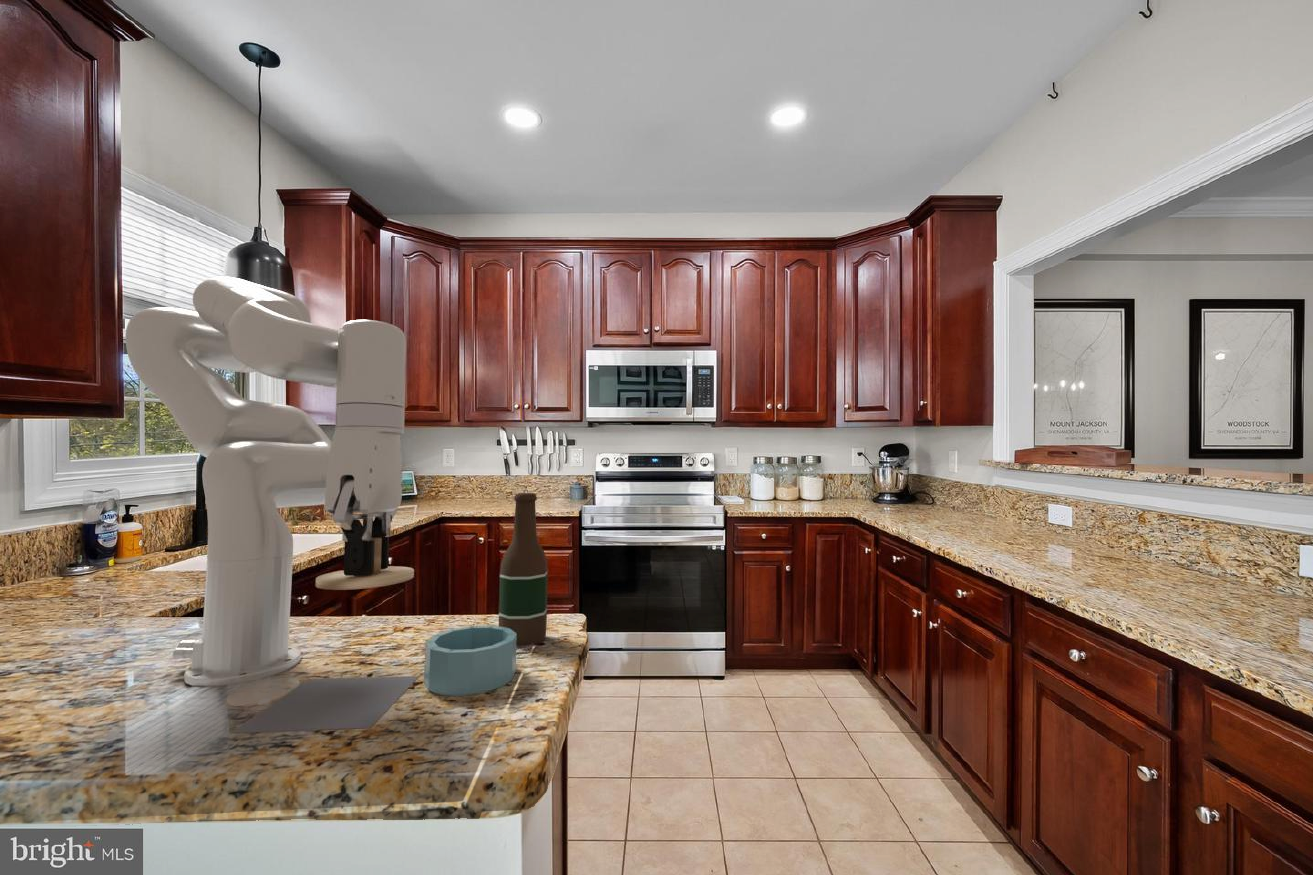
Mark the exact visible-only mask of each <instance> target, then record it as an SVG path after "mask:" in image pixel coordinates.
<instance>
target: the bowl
mask: <svg viewBox="0 0 1313 875" xmlns="http://www.w3.org/2000/svg"><path fill="white" fill-rule="evenodd" d="M516 640H517V634H516V633H515V632H514V631H512V630H511V629H510V628H505V627H499V625H498V626H497V625H469V626H463V627H456V628H452V629H451V628H450V629H448V630H444V631H442V632H439V633H436V634H434V635H432V636H431V637H429V639H428V640H426V642H425V643H424V645H425V646H424V647H425V648H424V672H423V673H424V674H423V676H424V677H423V678H424V679H423V683H424V684H425V687H426V689H427V690H428V691H429V692H431V693H433V694H437V695H441V696H447V697H456V696H457V697H462V696H464V697H465V696H473V695H479V694H483V693H488V692H491V691H494V690H497V689H499V688H501V687H504V686H506V685H507V684H508V683H510V682H511V681H512V680H513V679H514V677H515V673H516V672H517V646H516Z"/></svg>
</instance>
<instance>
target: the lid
mask: <svg viewBox="0 0 1313 875" xmlns="http://www.w3.org/2000/svg"><path fill="white" fill-rule="evenodd" d="M370 540H375V543H374V572H373V573H372V574H371V575H356V576H346V575H345V574H344V569H343V570H337V571H332V572H328V573H324V574H321V575H319V576H317V577H316V578H315V587H316V588H317V589H322V590H327V591H328V590H332V591H334V590H335V591H347V590H350V591H351V590H360V589H361V590H362V589H372V588H379V587H386V586H391V585H396V584H401V583H405V582H407V581H410V580H412V579H413V578H414V577H415V576H414V575H415V569H414V568H412V567H408V566H394V565H390V566H389V565H388V568H386V569H382V570H381V545H382V538H378V537H372V538H371V539H370Z"/></svg>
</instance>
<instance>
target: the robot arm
mask: <svg viewBox="0 0 1313 875" xmlns="http://www.w3.org/2000/svg"><path fill="white" fill-rule="evenodd" d="M192 304H193V307H194V309H195V311H194V310H188V309H184V308H176V307H175V308H174V307H167V306H166V307H164V306H163V307H160V306H159V307H158V306H157V307H150V308H145V309H141V310H140V311H138V312H136V313H135V314H133V315H132V317H130V319H129V321H128V323H127V326H126V328H125V345H126V346H125V348H126V351H127V352H126V353H127V356H128V359H129V362H130V364H131V368H132V369H133V370H134V372H135V374H136V375H137V377H138V378H139V380H140V381H141V382H142V383H143V385H144V386H145V387H146V388H147V389H148V390H149V391H150V392H151V393H152V394H154V395H155V397H156V398H157V399H159V401H161V403H162V404H163V405H164V406H165V407H166V408H167V410H168V411H169V412H170V414H171V416H172V418H173V419H174V421H175V422H176V424H177V425H178V427H179V428H180V430H181V431H182V433H183V435H184V436H185V437H186V439H187V441H188V442H189V444H190V445H191V446H192V447H193V449H194V450H195V451H196V452H197V453H198V454H199V455H201V456H202V457H205V460H204V462H203V464H202V465H203V466H202V473H201V477H202V486H203V491H204V497H205V505H206V512H207V550H206V551H207V552H206V553H207V554H206V571H205V584H204V585H205V587H204V588H205V589H204V603H203V622H202V638H201V639H183V640H181V641H180V642H179V643H178V645H177V647H176V648H175V649H174V651H173V652H172V657H173V658H174V659H188V658H189V659H191V666H189V667H188V668H187V669H186V670H185V672H184V675H183V676H184V677H183V681H184V683H186V684H187V685H189V686H191V687H192V686H197V687H220V686H229V685H231V686H232V685H238V684H243V683H248V682H252V681H257V680H261V679H265V678H268V677H272V676H275V675H277V674H280V673H282V672H286V671H287V670H290V669H291V668H293V667H295V666H297V665H298V664H299V663H300V661H301V660H302V659H301V657H302V652H301V650H299V649H298V648H296V647H293V646H289V642H290V641H289V638H290V619H291V600H292V596H291V595H292V580H293V578H292V577H293V562H294V561H293V560H294V559H293V558H294V555H293V554H294V538H293V533H292V531H291V528H290V527H289V525H288V524H287V522H286V521H285V520H284V519H283V517H282V516H281V515H280V512H279V511H278V509H281V508H282V509H283V508H293V507H310V506H321V505H324V509H325V511H326V513H327V514H329V515H331V516H333V517H332V518H333V519H332V520H333V522H334V523H335V524H337V526H338V527H340V528H341V531H342V537H341V538H342V541H343V542H344V547H343V548H344V550H343V551H344V552H343V554H344V555H343V570H344V574H345V575H346V576H356V575H371V574H372V573H373V572H374V543H375V540H370V539H371V538H372V537H378V538H382V545H381V570H382V569H386V568H388V566H389V558H390V557H389V554H390V549H389V548H390V535H391V532H392V527H391V524H392V522H393V518H394V517H395V516H396V515H397V512H398V508H399V507H400V506H401V503H402V498H403V497H402V496H403V460H402V459H403V456H402V445H401V435H404V434H405V409H406V408H405V407H406V405H405V404H406V403H405V402H406V401H405V400H406V363H407V362H406V361H407V358H406V357H407V355H406V354H407V340H406V339H407V338H406V335H405V333H404V332H403V330H402V329H401V328H399V327H398V326H396V325H394V324H391V323H388V322H385V321H379V320H374V319H373V320H372V319H356V320H349V321H347V322H345V323H343V324H342V325H341V326H340V328H339V330H337V329H334V328H329V327H326V326H322V325H320V324H319V325H318V324H316V323H311V320H312V319H311V315H310V314H311V313H310V311H309V309H308V307H307V305H306V304H305V303H304V302H303V301H302V300H301V299H300V298H299V297H296V296H295V295H293V294H291V293H289V292H285V291H282V290H278V289H276V288H272V287H269V286H268V287H267V286H264V285H261V284H258V283H254V282H251V281H250V280H249V281H248V280H245V279H242V278H236V277H231V276H216V277H211V278H208V279H205V280H203V281H202V282H200V283H199V284H198V285H197V286H196V288H195V289H194V291H193V294H192ZM213 369H217V370H224V371H229V372H230V371H231V372H235V373H248V374H249V373H256V372H258V373H259V374H262V375H265V376H267V377H270V378H273V379H277V380H284V381H290V382H297V383H304V384H311V385H316V386H322V387H326V388H327V387H328V388H335V389H336V390H335V391H336V392H335V394H336V395H335V421H334V422H335V423H334V424H335V428H334V431H333V437H332V440H331V439H330V438H329V437H328V436H327V434H326V433H325V432H324V431H323V429H322V428H321V427H320V425H318V423H317V422H316V421H315V420H314V419H313V417H312V416H311V415H309V414H308V413H307V412H306V411H304V410H302V409H300V408H299V407H295V406H292V405H288V404H281V403H273V402H264V401H256V400H252V399H247V398H244V397H242V396H241V395H240V394H239V393H238V392H237V390H236V389H235V387H234V386H233V385H232V383H231V382H229V381H228V380H227V378H225V377H224V376H223V375H221V374H219V373H218V372H217V371H215V370H213ZM361 520H362V522H361ZM173 658H172V659H173Z"/></svg>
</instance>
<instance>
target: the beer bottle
mask: <svg viewBox="0 0 1313 875" xmlns="http://www.w3.org/2000/svg"><path fill="white" fill-rule="evenodd" d="M513 500H514V501H515V508H514V509H515V510H514V520H513V522H514V523H513V534H512V538H511V542H510V544H509V546H508V547H507V549H506V551H505V552H504V553H503V556H502V560H501V562H500V569H499V595H498V597H499V598H498V599H499V600H498V626H499V627H505V628H510V629H511V630H512V631H514V632H515V633H516V634H517V640H516V647H517V646H520V647H521V646H531V645H532V646H537V645H540V644H541V645H542V644H543V642H544V640H545V637H546V635H547V625H548V623H547V618H548V572H549V571H548V558H547V555H546V552H545V550H544V548H543V547H542V545H541V544H540V542H539V540H538V534H537V514H536V513H537V512H536V511H537V510H536V501H537V500H538V497H537V493H535V492H518V493H515V496H514V498H513Z"/></svg>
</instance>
